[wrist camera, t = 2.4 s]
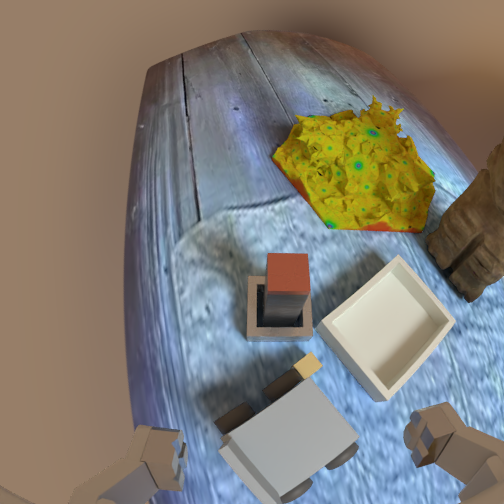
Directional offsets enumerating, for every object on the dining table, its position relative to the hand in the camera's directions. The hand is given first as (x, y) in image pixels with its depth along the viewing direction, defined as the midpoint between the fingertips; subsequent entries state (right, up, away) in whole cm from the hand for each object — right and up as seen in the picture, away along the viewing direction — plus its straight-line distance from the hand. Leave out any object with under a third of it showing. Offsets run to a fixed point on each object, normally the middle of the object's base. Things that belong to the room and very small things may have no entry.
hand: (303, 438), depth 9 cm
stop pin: (+1, -1, +26) cm, 26 cm away
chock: (+4, -7, +23) cm, 24 cm away
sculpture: (+29, +5, +30) cm, 42 cm away
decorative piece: (+16, +20, +39) cm, 47 cm away
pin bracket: (+1, -1, +26) cm, 26 cm away
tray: (+14, -3, +25) cm, 29 cm away
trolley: (+2, -13, +19) cm, 24 cm away
